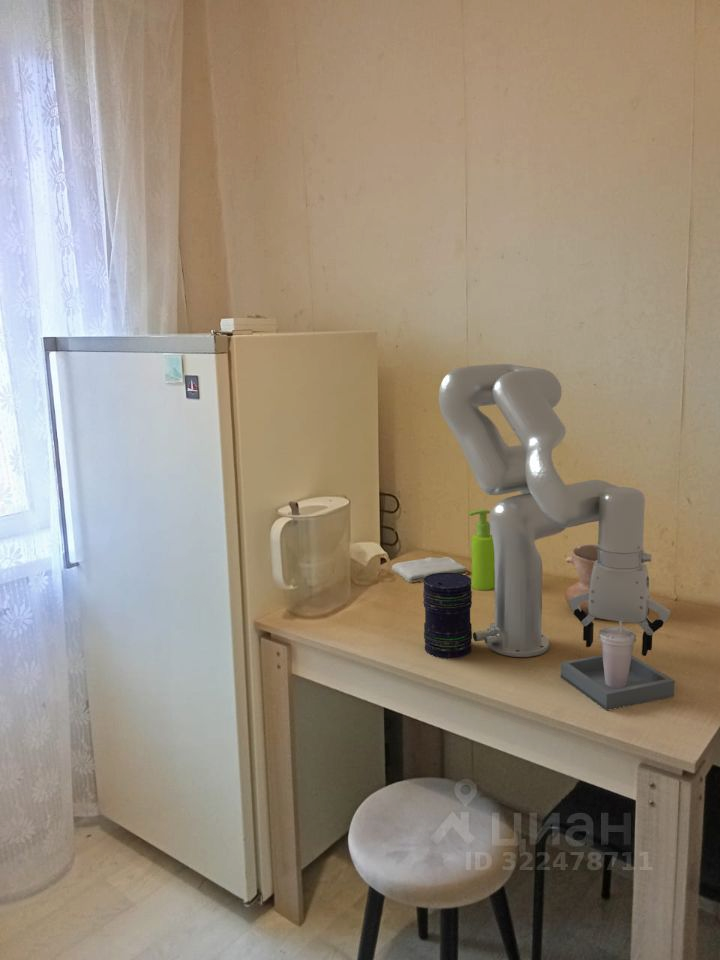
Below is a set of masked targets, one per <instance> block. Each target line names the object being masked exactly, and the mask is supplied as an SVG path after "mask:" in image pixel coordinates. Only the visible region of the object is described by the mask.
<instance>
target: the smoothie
mask: <svg viewBox="0 0 720 960" xmlns="http://www.w3.org/2000/svg"><path fill="white" fill-rule="evenodd" d="M618 623H619V624H618V626H607V627H604V628H601V629H600V630H599V631H598V632H599V635H598V639H599V640H600V645H601V653H602V654H601V655H603V665H604V674H605V683H606V684H607V685H608V686H610V687H614V688H622V687H625V686H626V685H627V679H628V674H629V668H630V662H631V657H632V655H633V651H634V644H635V643H636V641H637V635H636V633H635V632H634V631H633V630H631V629H628V628H626V627H623V623H624V622H621V621H618Z"/></svg>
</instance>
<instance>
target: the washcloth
mask: <svg viewBox="0 0 720 960" xmlns="http://www.w3.org/2000/svg"><path fill="white" fill-rule="evenodd" d="M467 568H468V566H464V565H462V564H461V563H459V562H457V561H456V560H454V558H450V557H449V556H443V557H431V556H429V557H426V558H422V559H413V560H406V561H401V562H400V561H399V562H397V563H394V564H393V565H392V566H391V570H392V571H393V573H395V574H396V573H397V575H398V574H399V575H398V576H400V577H401V576H402V577H401V578H402V579H403V578H404V579H403V580H405V581H406V582H408V583H409V582H411V583H410V584H414V583H419V582H418V581H421V582H424V578H425V577H426V576H428V575H431V574H435V573H446V572H448V573H459V574H467V575H468V572H467ZM413 582H414V583H413Z"/></svg>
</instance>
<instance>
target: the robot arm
mask: <svg viewBox="0 0 720 960" xmlns="http://www.w3.org/2000/svg"><path fill="white" fill-rule="evenodd" d="M562 393H563V391H562V385H561V383H560V381H559V379H558V377H557V376H556V375H555V374H554V373H553V372H551V371H549V370H548V369H545V368H539V367H531V366H524V365H517V364H511V363H510V364H509V363H494V364H493V363H492V364H481V365H479V364H478V365H477V364H476V365H468V366H461V367H458V368H455V369H452V370H451V371H449V372H448V373H447V374H446V375H445V376H444V377H443V379H442V380H441V383H440V385H439V391H438V403H439V404H438V405H439V409H440V412H441V415H442V417H443V419H444V421H445V423H446V425H447V427H448V428H449V429H450V431H451V432H452V434H453V436H454V437H455V438H456V441H457V442H458V445H459V446H460V448H461V450H462V453H463V455H464V457H465V459H466V462H467V464H468V465H469V468H470V470H471V472H472V474H473V476H474V479H475V480H476V482H477V484H478V485H479V487H480V489H481V490H482V491H483V492H484V493H485V494H486V495H489V496H501V495H507V494H512V493H516V492H517V493H518V492H520V494H517V495H512V496H508V497H506V498H504V499H501V500H500V501H498V502H497V503H496V504H495V505H494V506H493V507H492V509H491V511H490V513H489V523H490V534H491V535H492V538H493V545H494V557H495V588H494V622H492V623H491V622H490V625H489V628H486V630H480V631H474V632H472V639H473V641H474V642H482V641H484V643H485V644H486V645H487V646H488V647H489V649H490V650H492V651H493V652H495V653H497V654H499V655H503V656H506V657H514V658H530V657H536V656H539V655H543V654H544V653H546V652H547V651H548V650H549V648H550V640H549V638H548V637H547V636H546V635H544V634H543V633H542V631H543V630H542V623H543V619H542V618H543V560H542V557H541V555H540V552H539V550H538V548H537V546H536V542H535V541H538V540H540V539H543V538H548V537H551V536H555V535H559V534H561V533H562V532H563V531H565V530H566V528H573V527H574V528H575V527H577V526H581V525H584V524H585V525H586V524H588V523H595V522H598V535H597V545H598V560H596V561H595V562H594V565H593V569H592V574H591V580H590V588H589V591H588V592H585V593H583V594H580V595H577V596H574V597H571V598H570V600H569V604H570V606H571V607H570V606H569V607H570V608H571V610H572V612H573V616H575V618H577V620H579V621H580V624H581V626H583V629H582V630H583V632H582V640H583V641H585V647H586V648H590V647H592V645H593V642H594V622H593V621H594V619H601V620H608V621H613V622H619V621H621V622H623V623H631V624H638V625H639V626H640V627H641V629H642V630H643V634H642V638H641V639H642V640H641V642H642V644H641V655H642V657H643V656H644V657H646V656H647V655H648V651H652V648H653V635H654V633H655V632H657V631H658V630H659V629H660V628H662V627H663V625H664V624H665V622H666V621H668V618H669V617H670V616H671V610H670V609H669V608H667V607H665V606H664V605H662V604H660V603H659V602H658V601H656V600H654V599H652V598H651V597H650V594H651V593H650V591H651V590H650V577H649V571H648V570H649V569H648V566H647V565H646V564H645V563H647V562H648V563H649V562H650V563H651V562H652V558H653V557H652V554H651V553H647V552H645V549H644V533H645V532H644V529H645V510H646V509H645V505H646V502H645V501H646V500H645V495H644V493H643V492H642V491H641V490H639V489H637V488H633V487H627V486H624V487H623V486H617V485H615V484H613V483H609V482H608V481H604V480H601V479H591V480H585V481H580V482H573V483H569V484H565V482H564V481H563V480H562V478H561V477H560V475H559V473H558V471H557V469H556V467H555V465H554V462H553V458H552V457H553V456H552V453H553V450H554V449H555V448H557V447H558V446H559V444H561V443H562V441H563V440H564V438H565V436H566V432H567V429H566V427H565V425H564V423H563V422H562V420H561V419H560V418H559V416H558V415H557V413H556V411H555V410H554V408H555V407H556V406H557V405H558V404H559V403H560V401H561V397H562ZM494 405H496V406H497V408H498V409H499V411H500V413H501V414H502V415H503V417H504V419H505V420H506V422H507V423H508V425H509V426H510V429H511V430H512V431H513V433H514V435H515V436H516V438H517V439H518V441H519V442H520V444H519V445H512V446H510V445H508V444H507V443H506V442H505V440H504V439H503V437H502V435H501V432H500V431H499V428H498V427H497V426H496V424H495V423H494V422H493V420H492V419H491V418H490V417H488V416H487V415H486V414H485V413H483V412H482V411H481V410H480V408H479V407H485V406H494ZM587 600H588V613H587V614H586V613H585V612H584V611H583V610H582V609H581V608H580V605H579V603H581V602H584V601H587ZM650 610H652V611H653V612H655V613H656V614H658V615H659V616H658V618H656V619H655V620H654V621H652V620H651V619H650V618H649V617H648V615H649V614H650Z"/></svg>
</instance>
